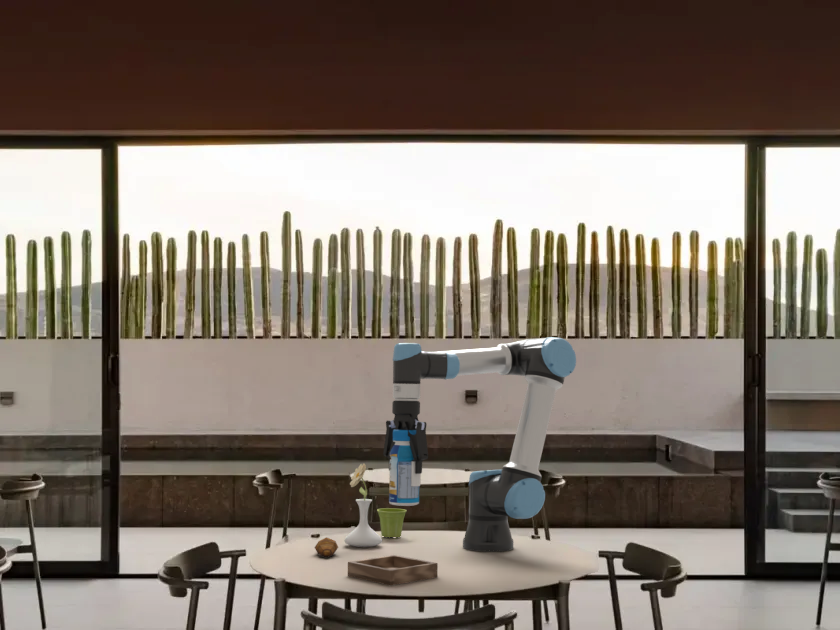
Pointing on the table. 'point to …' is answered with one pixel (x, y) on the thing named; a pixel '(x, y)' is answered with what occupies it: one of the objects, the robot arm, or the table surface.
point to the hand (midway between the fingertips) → (404, 484)
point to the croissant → (326, 547)
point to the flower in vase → (362, 517)
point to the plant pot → (391, 521)
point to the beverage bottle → (402, 471)
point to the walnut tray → (392, 569)
